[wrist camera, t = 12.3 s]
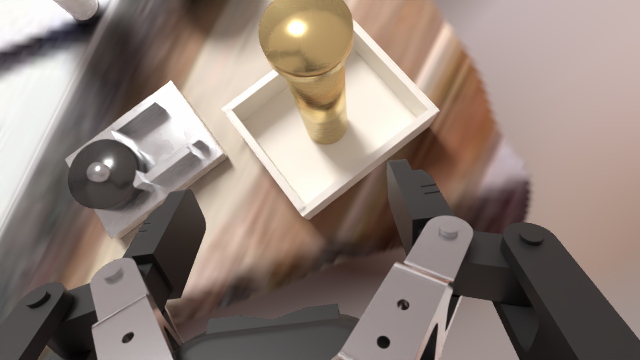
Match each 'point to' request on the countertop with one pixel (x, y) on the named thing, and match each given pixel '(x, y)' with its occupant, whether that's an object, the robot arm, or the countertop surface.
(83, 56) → the countertop surface
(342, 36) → the gold mushroom peg
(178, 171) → the tensioner plate
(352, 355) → the robot arm
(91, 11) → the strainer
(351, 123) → the tray
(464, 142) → the countertop surface
